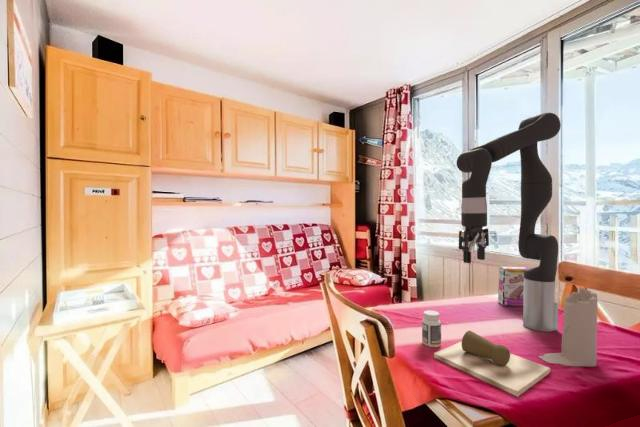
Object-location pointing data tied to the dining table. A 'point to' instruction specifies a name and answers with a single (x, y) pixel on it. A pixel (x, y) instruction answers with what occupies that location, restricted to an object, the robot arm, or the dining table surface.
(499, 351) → the cork
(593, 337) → the candle
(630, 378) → the dining table surface
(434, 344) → the pill bottle
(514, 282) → the candy bar box
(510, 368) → the birch board
